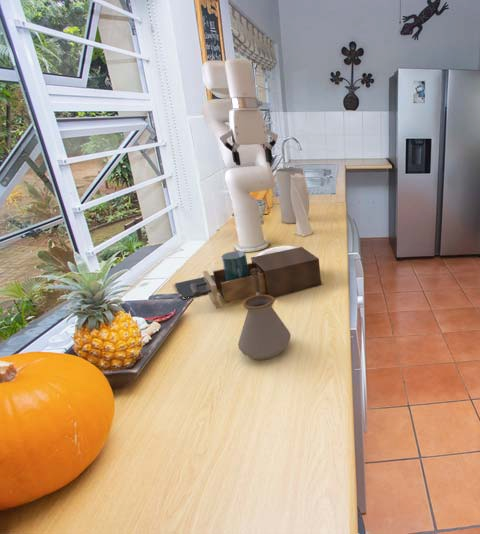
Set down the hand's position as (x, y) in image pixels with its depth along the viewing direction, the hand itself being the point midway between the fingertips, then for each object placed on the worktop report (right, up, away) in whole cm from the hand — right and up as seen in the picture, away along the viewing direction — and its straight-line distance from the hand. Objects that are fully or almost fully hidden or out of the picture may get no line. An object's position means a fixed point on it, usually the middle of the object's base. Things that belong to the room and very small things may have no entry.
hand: (253, 163), depth 122 cm
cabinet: (+10, -38, +1) cm, 40 cm away
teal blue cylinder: (-1, -40, -7) cm, 40 cm away
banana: (+4, -31, +18) cm, 37 cm away
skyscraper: (+4, -18, +50) cm, 53 cm away
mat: (-16, -39, 0) cm, 42 cm away
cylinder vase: (-6, -10, +71) cm, 72 cm away
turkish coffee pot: (+14, -51, -28) cm, 60 cm away
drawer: (-3, -41, -8) cm, 42 cm away
